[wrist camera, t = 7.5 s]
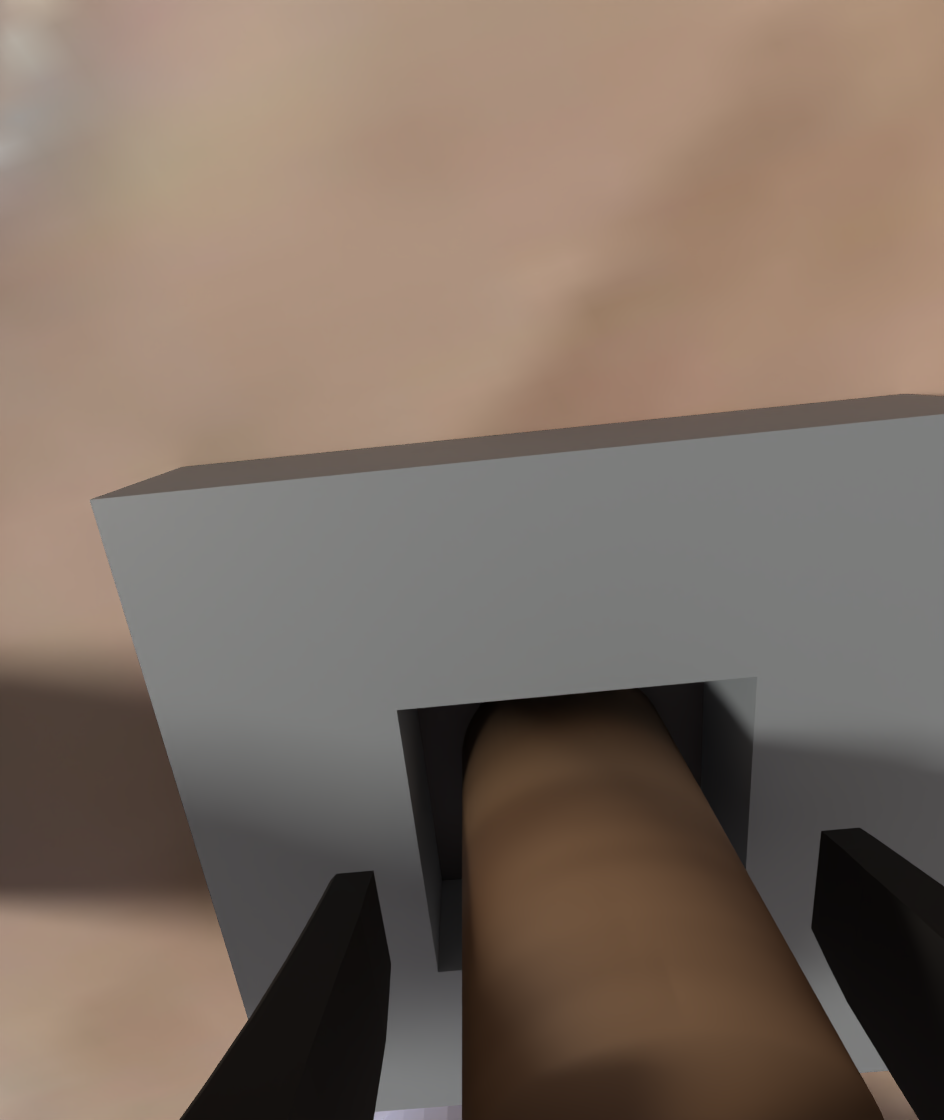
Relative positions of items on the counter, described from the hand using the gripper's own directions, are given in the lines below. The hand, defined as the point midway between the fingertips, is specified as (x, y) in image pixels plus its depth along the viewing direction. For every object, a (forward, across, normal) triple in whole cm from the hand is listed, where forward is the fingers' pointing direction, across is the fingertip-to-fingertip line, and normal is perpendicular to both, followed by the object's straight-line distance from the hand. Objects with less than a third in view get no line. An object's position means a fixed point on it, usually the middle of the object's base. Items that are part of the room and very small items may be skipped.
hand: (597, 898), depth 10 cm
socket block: (+4, 0, 0) cm, 4 cm away
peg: (+3, 0, 0) cm, 4 cm away
